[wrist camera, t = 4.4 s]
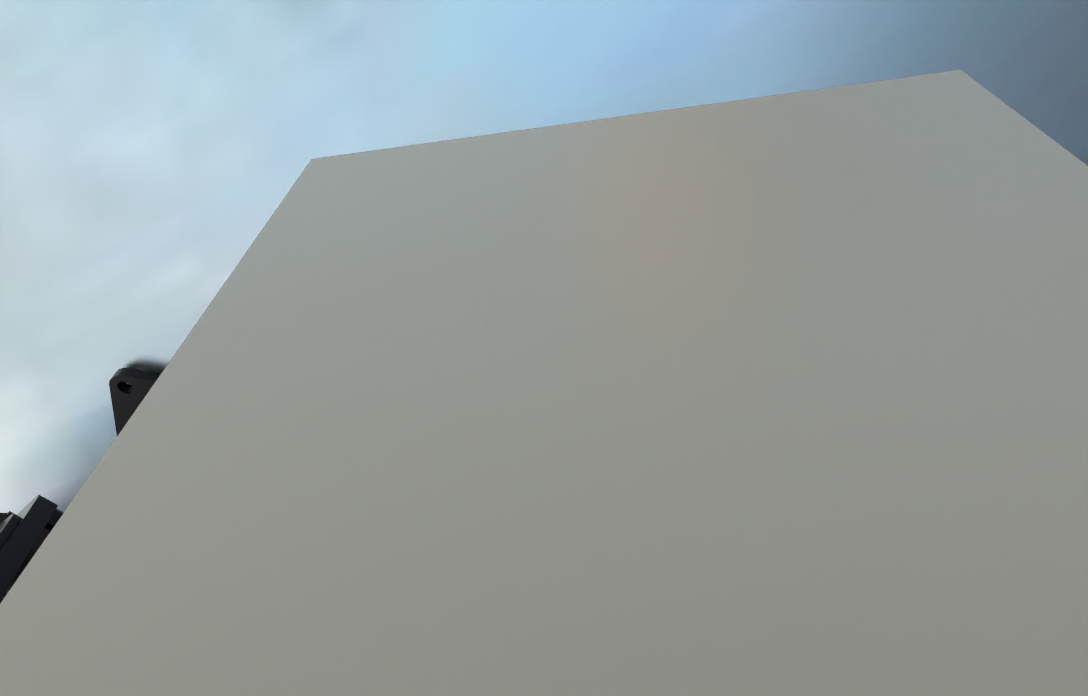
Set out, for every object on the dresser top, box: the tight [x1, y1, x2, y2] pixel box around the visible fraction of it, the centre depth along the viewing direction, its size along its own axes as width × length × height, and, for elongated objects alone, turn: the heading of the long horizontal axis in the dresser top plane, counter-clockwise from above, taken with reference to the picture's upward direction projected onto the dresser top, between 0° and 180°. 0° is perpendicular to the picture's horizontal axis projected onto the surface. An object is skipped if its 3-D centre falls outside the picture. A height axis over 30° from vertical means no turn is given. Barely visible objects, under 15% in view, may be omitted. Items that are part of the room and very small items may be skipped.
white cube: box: [0, 70, 1088, 696], centre depth 8 cm, size 8×8×8 cm
